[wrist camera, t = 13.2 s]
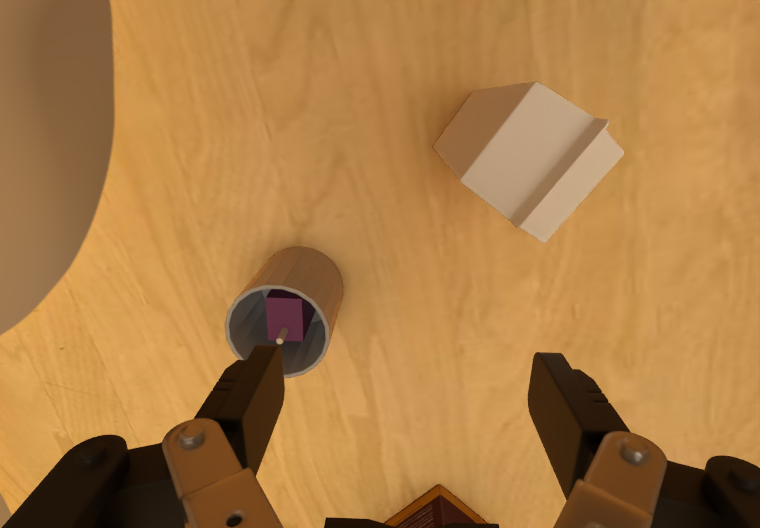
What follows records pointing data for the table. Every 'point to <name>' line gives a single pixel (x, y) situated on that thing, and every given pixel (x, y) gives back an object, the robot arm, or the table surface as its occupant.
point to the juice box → (287, 316)
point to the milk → (528, 153)
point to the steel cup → (297, 275)
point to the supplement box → (434, 511)
